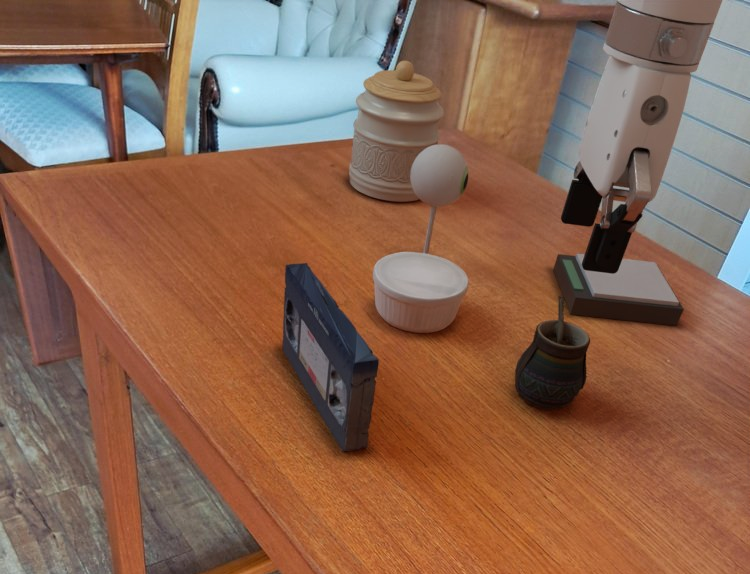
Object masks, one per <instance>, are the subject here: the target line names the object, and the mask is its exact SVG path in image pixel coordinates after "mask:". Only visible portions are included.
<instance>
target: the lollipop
mask: <svg viewBox="0 0 750 574" xmlns="http://www.w3.org/2000/svg"><path fill="white" fill-rule="evenodd" d="M410 178H411V185H412V188H413V190H414V192H415V194H416V195H417V197H418V198H419V200H420V201H421V202H423V204H426V205H428V206H430V212H429V217H428V223H427V229H426V235H425V239H424V240H425V241H424V246H423V252H422V253H426V254H429V251H430V246H431V241H432V235H433V229H434V224H435V223H434V222H435V219H436V218H435V217H436V212H437V208H441V207H447V206H450V205H452V204H453V203H455V202H456V201H458V200H459V199H460V198H461V196H462V195H463V194H464V192H465V191H466V188H467V186H468V182H469V167H468V164H467V161H466V159H465V157H464V156H463V155H462V153H461V152H460V151H459V150H458V149H456V148H455V147H453V146H451V145H448V144H443V143H442V144H441V143H440V144H437V145H432V146H430V147H428V148H426V149H424V150H423V151H422V152H421V153H420V154H419V155H418V156H417V157H416V159H415V160H414V162H413V164H412V168H411V175H410Z"/></svg>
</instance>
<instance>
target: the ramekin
mask: <svg viewBox="0 0 750 574" xmlns="http://www.w3.org/2000/svg"><path fill="white" fill-rule="evenodd" d="M372 280H373V283H374V284H373V285H374V305H375V309H376V311H377V313H378V315H379V316H380V317H381V319H383V321H384V322H386V323H387V324H389V325H390V326H392V327H394V328H396V329H399V330H402V331H405V332H410V333H414V334H415V333H416V334H430V333H435V332H439V331H442V330H444V329H445V328H447V327H448V326H450V325H451V324H452V323H453V321H454V320H455V319H456V316H457V314H458V312H459V309H460V307H461V304H462V302H463V299H464V297H465V296H466V294H467V292H468V289H469V277H468V274H467V273H466V272H465V271H464V269H462V268H461V266H459V265H458V264H456V263H454V262H452V261H451V260H449V259H446V258H444V257H443V256H442V257H441V256H438V255H434V254H431V253H428V254H426V253H423V252H417V251H399V252H394V253H390V254H387V255H385V256H383V257H381V258H380V259H379V260H377V261H376V262H375V264H374V266H373V270H372Z"/></svg>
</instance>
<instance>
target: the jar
mask: <svg viewBox="0 0 750 574" xmlns="http://www.w3.org/2000/svg"><path fill="white" fill-rule="evenodd" d="M362 86H363V87H364V89H365V90H364V91H363V92H362V93H360V94H358V96H356V98H355V104H356V106H357V108H358V110H357V111H358V112H357V117H356V119H354V121H353V125H352V126H353V138H352V146H351V147H352V148H351V158H350V162H349V165H348V166H349V167H348V168H349V169H348V175H349V183H350V185H351V186H352V187H353V188H354V189H355V190H356V191H358V192H359V193H360V194H363V195H365V196H367V197H371V198H374V199H378V200H380V201H381V200H382V201H388V202H398V203H399V202H401V203H404V202H407V203H408V202H413V201H418V200H420V199H419V198H418V197H417V195H416V194H415V192H414V190H413V188H412V185H411V178H410V175H411V168H412V164H413V162H414V160H415V159H416V157H417V156H418V155H419V154H420V153H421V152H422V151H423V150H424V149H426V148H428V147H430V146H432V145H438V143H439V141H440V140H441V139H440V138H441V134H440V131H439V123H440V120H441V119H442V118H443V117H444V116H445V110H444V108H443V106H441V104H440V103H439V102H438V100H440V98H441V97H442V91H441V90H440V89H439V88H438V87H437V86H436V85H435V84H434V82H433V81H432V80H431V79H430V78H428V77H426V76H423V75H422V74H418V73H415V69H414V65H413V64H412V62H410V61H409V60H401V61H400V62H398V63H397V65H396V67H395V69H394V70H393V69H389V70H387V69H385V70H380V71H377V72H375V73H374V74H373V75H372V76H369V77H367V78H365V79H364V80H363V85H362Z"/></svg>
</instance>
